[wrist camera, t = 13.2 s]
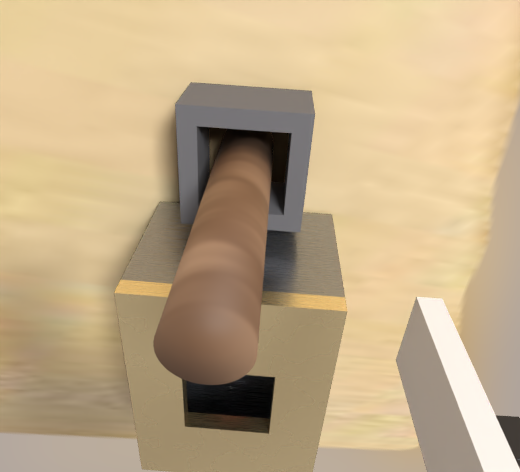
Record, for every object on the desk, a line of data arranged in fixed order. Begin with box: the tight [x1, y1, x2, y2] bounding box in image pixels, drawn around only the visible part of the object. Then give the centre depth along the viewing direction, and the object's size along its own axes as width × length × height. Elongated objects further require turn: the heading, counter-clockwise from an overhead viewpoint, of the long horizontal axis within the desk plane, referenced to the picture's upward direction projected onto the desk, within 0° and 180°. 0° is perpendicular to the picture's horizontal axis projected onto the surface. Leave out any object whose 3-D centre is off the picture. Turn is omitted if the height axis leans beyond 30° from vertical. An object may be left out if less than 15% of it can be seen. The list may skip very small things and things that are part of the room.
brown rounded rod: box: [153, 128, 274, 385], centre depth 20 cm, size 3×3×16 cm
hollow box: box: [114, 202, 347, 472], centre depth 29 cm, size 11×15×9 cm
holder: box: [175, 82, 315, 232], centre depth 25 cm, size 7×7×4 cm
